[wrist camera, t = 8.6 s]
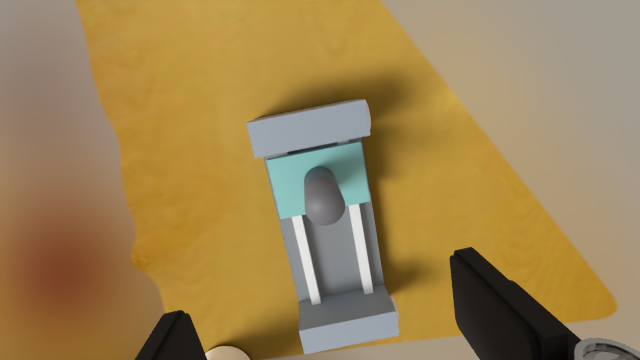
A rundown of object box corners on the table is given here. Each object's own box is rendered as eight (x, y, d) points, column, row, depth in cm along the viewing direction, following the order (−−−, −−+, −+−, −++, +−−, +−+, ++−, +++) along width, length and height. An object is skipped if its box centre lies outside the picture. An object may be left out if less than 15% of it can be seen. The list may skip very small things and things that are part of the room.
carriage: (267, 158, 29) (255, 180, 21) (358, 140, 29) (379, 155, 22) (281, 215, 31) (274, 254, 23) (367, 198, 31) (390, 231, 23)
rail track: (256, 118, 31) (246, 122, 25) (357, 98, 31) (370, 98, 25) (304, 314, 37) (304, 354, 31) (387, 297, 37) (403, 334, 31)
